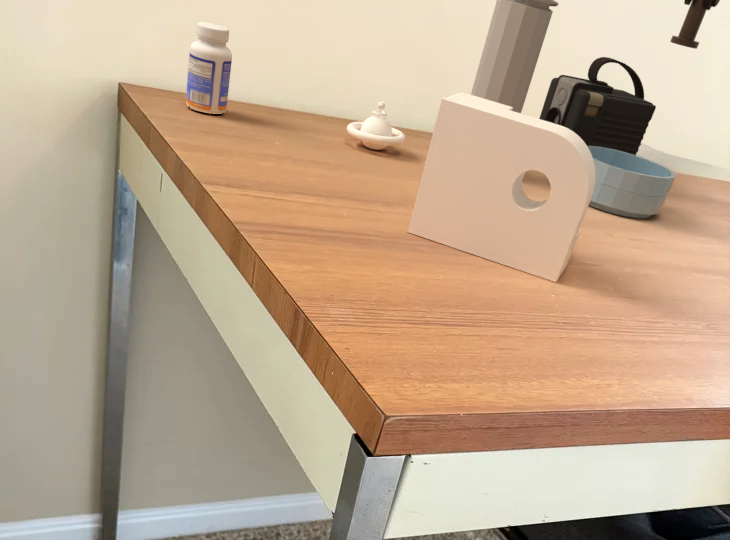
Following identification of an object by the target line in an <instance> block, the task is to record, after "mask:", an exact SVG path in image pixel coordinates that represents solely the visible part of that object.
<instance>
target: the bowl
mask: <svg viewBox="0 0 730 540" xmlns="http://www.w3.org/2000/svg"><path fill="white" fill-rule="evenodd" d="M588 148H589V150H590V152H591V154H592V157H593V160H594V165H595V174H596V178H595V187H594V192H593V195H592V198H591V201H590V203H589V206H590V207H592V208H594V209H597V210H600V211H603V212H606V213H609V214H613V215H618V216H621V217H627V218H633V219H648V218H650V217H652V216H653V215H659V214H660V213H661V212H662V210H663V208H664V205H665V203H666V200H667V198H668V196H669V193H670V192H671V189H672V186H673V185H674V182H675V180H676V178H677V173H675V171H674V170H671V169H670V168H669V167H667V166H665V165H664V164H661V163H659V162H656V161H653V160H652V159H648V158H646V157H643V156H640V155H637V154H636V155H634V154H631V153H627V152H623V151H619V150H615V149H611V148H605V147H600V146H590V145H589V146H588Z"/></svg>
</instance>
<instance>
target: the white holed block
mask: <svg viewBox="0 0 730 540" xmlns="http://www.w3.org/2000/svg"><path fill="white" fill-rule="evenodd" d="M512 110H513V107H510V106H507V105H504V104H500V103H497V102H494V101H490V100H487V99H483V98H480V97H477V96H473V95H471V93H470V94H469V93H466V92H463V91H461V92H458V93H454V94H451V95H449V96H445V97H443V98H441V101H440V104H439V108H438V112H437V116H436V119H435V120H436V121H435V124H434V128H433V132H432V135H431V139H430V144H429V147H428V151H427V155H426V159H425V163H424V167H423V170H422V174H421V177H420V178H421V179H420V182H419V186H418V189H417V193H416V199H415V201H414V206H413V209H412V214H411V217H410V222H409V225H408V229H407V233H409V234H412V235H415V236H418V237H421V238H423V239H426V240H429V241H433V242H435V243H439V244H442V245H444V246H447V247H450V248H453V249H456V250H459V251H462V252H465V253H467V254H471V255H474V256H477V257H480V258H483V259H485V260H489V261H492V262H495V263H497V264H501V265H503V266H507V267H509V268H513V269H515V270H518V271H521V272H524V273H527V274H530V275H533V276H536V277H539V278H541V279H545V280H547V281H551V282H554V283H557V281H558V280H559V278H560V277H561V275H562V274H563V272H564V271H565V269H566V268H567V266H568V264H569V262H570V259H571V257H572V254H573V252H574V249H575V247H576V243H577V242H578V239H579V236H580V229H581V226H582V224H583V222H584V219H585V216H586V214H587V211H588V208H589V206H590V205H589V203H590V201H591V198H592V195H593V192H594V187H595V178H596V174H595V165H594V160H593V157H592V154H591V152H590V150H589V148H588V146H587V145H586V144H585V142H584V141H583V140H582V139H581V138H580V137H579V136H578V135H577V134H576V133H575V132H573V131H572V130H570V129H568V128H566V127H563V126H561V125H558V124H554V123H551V122H548V121H544V120H541V119H539V118H537V117H534V116H531V115H528V114H524V113H522V112H521V113H517V112H514V111H512ZM528 171H536V172H540V173H542V175H544V176H545V177H546V178H547V180H548V182H549V186H550V189H549V191H550V192H549V196H548V198H547V199H544V200H540V201H539V200H534V199H532V198H530V197H529V196H528V195H527V194H526V193H525V190H524V187H523V179H524V176H525V174H526V172H528Z"/></svg>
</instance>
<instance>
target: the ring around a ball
mask: <svg viewBox="0 0 730 540" xmlns="http://www.w3.org/2000/svg"><path fill="white" fill-rule="evenodd" d="M385 107H386V104H385V102H384V101H379V102H378V103H377V108H378V109H374V110H372V114H373V115H371V116H369V117H367V118H366V119H365V120H364V121H353V122H350V123H349V124H348V125H347V126H346V132H347V133H348V135H350V136H351V137H352V138H354V139H357V140H359V141H361V143H362V145H363V146H364V147H366V148H367V149H370V150H375V151H381V150H385V149H386V148H388V146H390V147H392V146H395V147H396V146H401V145H403V144H404V143H405V142H406V135H405V133H404V132H402V131H401V130H399V129H397V128H395V127H392V125H391V123H390V121H389V120H388V119H387V118H386V117H387V116H388V112H386V111H384V109H385Z"/></svg>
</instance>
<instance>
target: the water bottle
mask: <svg viewBox="0 0 730 540" xmlns="http://www.w3.org/2000/svg"><path fill="white" fill-rule="evenodd" d="M495 1H496V2H495V6H494V8H493V13H492V15H491V19H490V23H489V27H488V31H487V35H486V38H485V41H484V45H483V49H482V51H481V52H482V53H481V55H480V59H479V63H478V67H477V70H476V74H475V78H474V82H473V85H472V89H471V92H470V95H473V96H477V97H480V98H483V99H487V100H490V101H494V102H497V103H500V104H504V105H507V106H510V107H513V110H512V111H514V112H517V113H521V114H522V111H523V108H524V105H525V102H526V99H527V96H528V92H529V89H530V86H531V83H532V80H533V76H534V73H535V70H536V66H537V63H538V61H539V58H540V54H541V51H542V48H543V44H544V41H545V38H546V35H547V32H548V29H549V25H550V22H551V20H552V15H553V12H554V11H553V10H552V9H550V7H558V6H559V2H557V1H556V0H495Z"/></svg>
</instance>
